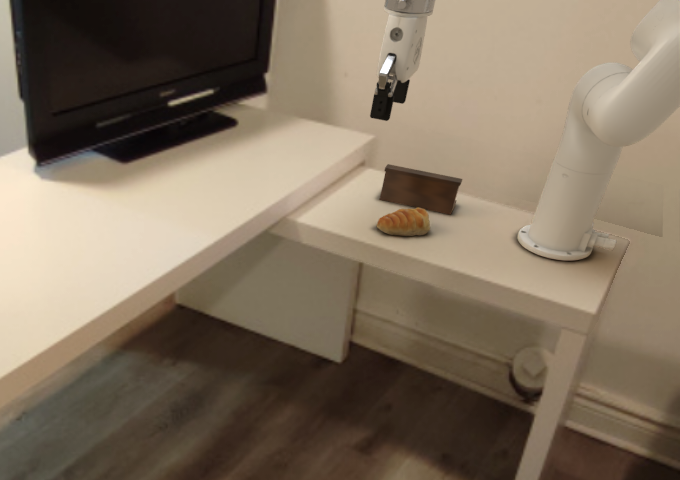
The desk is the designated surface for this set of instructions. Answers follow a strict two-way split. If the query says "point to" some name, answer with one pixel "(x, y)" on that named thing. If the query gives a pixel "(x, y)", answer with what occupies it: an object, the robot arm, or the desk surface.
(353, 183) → the desk surface
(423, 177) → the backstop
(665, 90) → the robot arm
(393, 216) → the pastry
